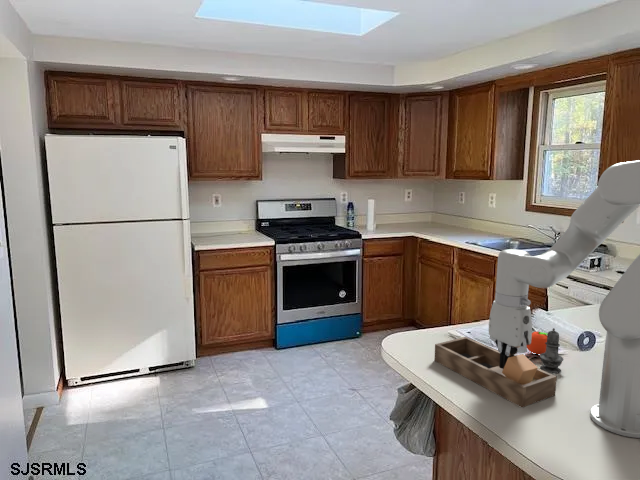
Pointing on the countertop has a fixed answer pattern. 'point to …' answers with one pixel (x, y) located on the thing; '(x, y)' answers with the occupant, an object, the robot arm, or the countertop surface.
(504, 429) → the countertop surface
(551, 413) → the countertop surface
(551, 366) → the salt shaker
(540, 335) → the clementine
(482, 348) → the wooden divided tray
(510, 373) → the block
